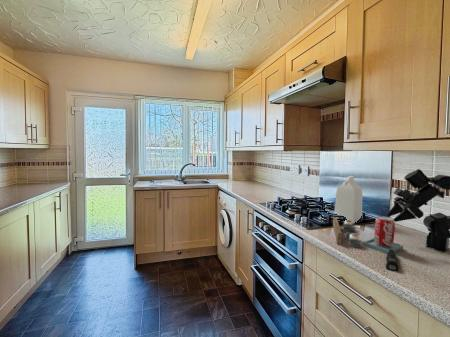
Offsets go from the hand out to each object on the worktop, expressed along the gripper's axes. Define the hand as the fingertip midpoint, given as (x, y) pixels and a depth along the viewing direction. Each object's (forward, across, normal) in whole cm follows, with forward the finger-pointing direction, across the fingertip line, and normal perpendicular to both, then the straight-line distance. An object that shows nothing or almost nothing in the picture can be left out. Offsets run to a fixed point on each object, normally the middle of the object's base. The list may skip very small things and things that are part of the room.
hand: (390, 218), depth 111 cm
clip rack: (+21, -3, -4) cm, 21 cm away
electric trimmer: (+12, +24, +5) cm, 27 cm away
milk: (+17, -34, 0) cm, 38 cm away
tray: (+11, +8, +5) cm, 14 cm away
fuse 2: (+19, +8, -3) cm, 21 cm away
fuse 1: (+19, -14, -2) cm, 24 cm away
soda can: (+10, +8, +5) cm, 14 cm away
